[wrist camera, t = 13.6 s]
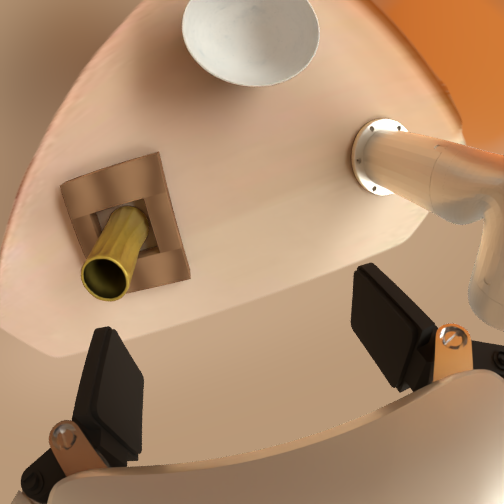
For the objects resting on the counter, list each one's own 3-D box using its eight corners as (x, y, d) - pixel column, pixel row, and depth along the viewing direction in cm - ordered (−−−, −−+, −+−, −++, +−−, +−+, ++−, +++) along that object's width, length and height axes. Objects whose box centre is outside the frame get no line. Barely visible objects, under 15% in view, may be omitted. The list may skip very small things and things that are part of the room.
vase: (132, 253, 40) (113, 314, 27) (100, 228, 37) (67, 281, 25) (158, 224, 39) (145, 277, 26) (125, 196, 36) (95, 239, 24)
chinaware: (315, 34, 31) (341, 21, 24) (257, 113, 35) (274, 112, 28) (225, -21, 25) (234, -46, 18) (160, 58, 29) (153, 44, 22)
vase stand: (159, 151, 34) (156, 154, 32) (190, 270, 43) (190, 278, 41) (66, 181, 33) (59, 185, 31) (107, 289, 41) (104, 298, 39)
